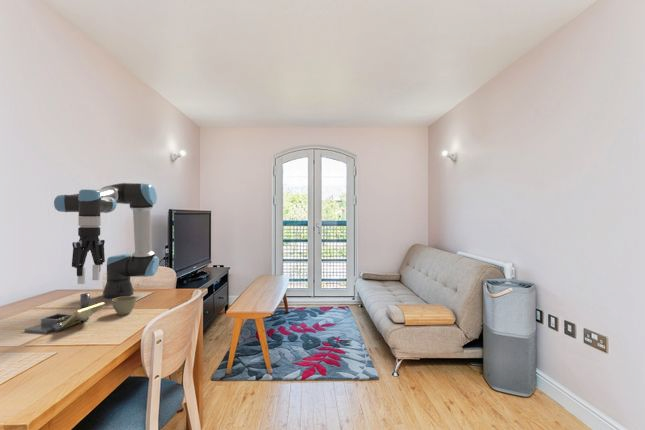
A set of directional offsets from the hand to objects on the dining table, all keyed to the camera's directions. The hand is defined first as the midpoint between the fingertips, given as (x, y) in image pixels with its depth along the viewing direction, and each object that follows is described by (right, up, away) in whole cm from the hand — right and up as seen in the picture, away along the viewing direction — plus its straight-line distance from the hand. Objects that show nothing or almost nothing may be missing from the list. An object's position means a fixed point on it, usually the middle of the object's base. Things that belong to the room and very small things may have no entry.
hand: (88, 281), depth 135 cm
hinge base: (-13, -19, +2) cm, 23 cm away
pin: (-12, -19, +15) cm, 27 cm away
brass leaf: (-3, -15, +1) cm, 16 cm away
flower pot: (+3, -19, +19) cm, 27 cm away
